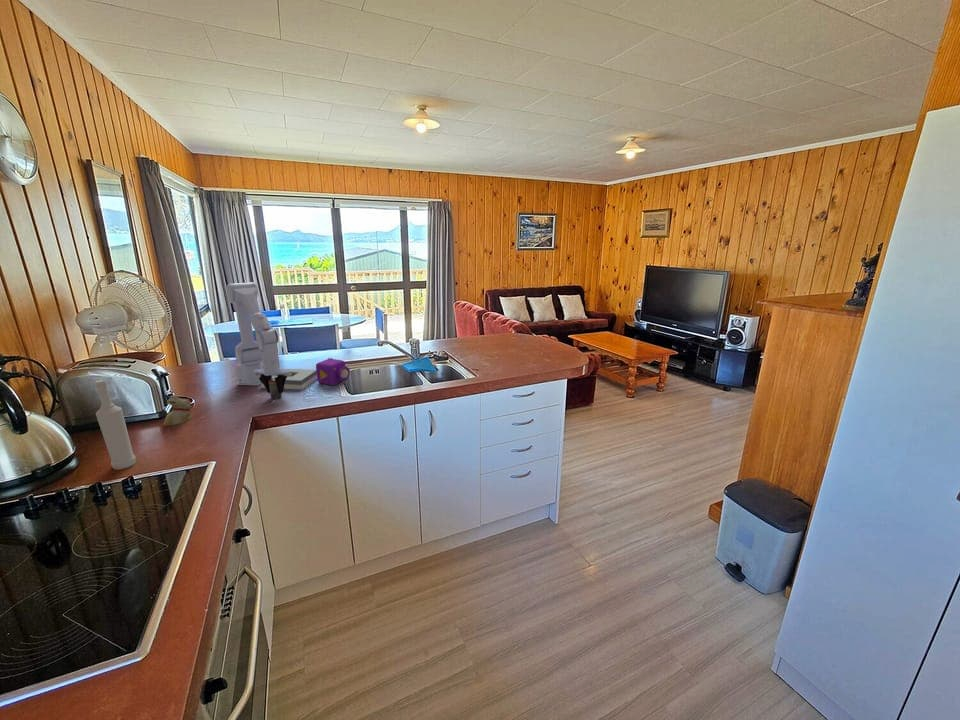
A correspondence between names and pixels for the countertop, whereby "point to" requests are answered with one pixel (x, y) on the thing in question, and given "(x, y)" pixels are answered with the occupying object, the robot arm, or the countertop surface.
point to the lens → (273, 388)
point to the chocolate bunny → (177, 411)
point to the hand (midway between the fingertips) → (275, 392)
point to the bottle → (114, 430)
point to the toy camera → (332, 371)
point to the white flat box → (298, 379)
